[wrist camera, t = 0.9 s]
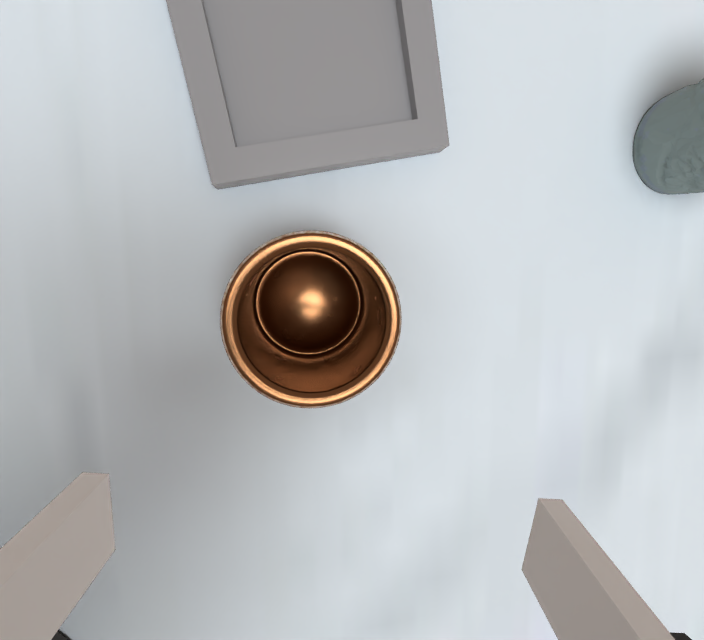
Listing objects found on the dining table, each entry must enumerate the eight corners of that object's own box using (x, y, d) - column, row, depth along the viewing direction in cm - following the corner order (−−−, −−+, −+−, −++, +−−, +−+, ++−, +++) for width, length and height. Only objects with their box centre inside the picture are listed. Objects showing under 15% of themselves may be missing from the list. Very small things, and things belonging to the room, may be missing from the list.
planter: (248, 226, 29) (226, 213, 20) (381, 246, 31) (417, 243, 22) (235, 358, 31) (209, 403, 22) (362, 370, 33) (388, 417, 23)
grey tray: (217, 189, 28) (212, 184, 27) (137, -137, 24) (123, -170, 22) (439, 152, 30) (449, 145, 28) (399, -156, 26) (408, -188, 24)
